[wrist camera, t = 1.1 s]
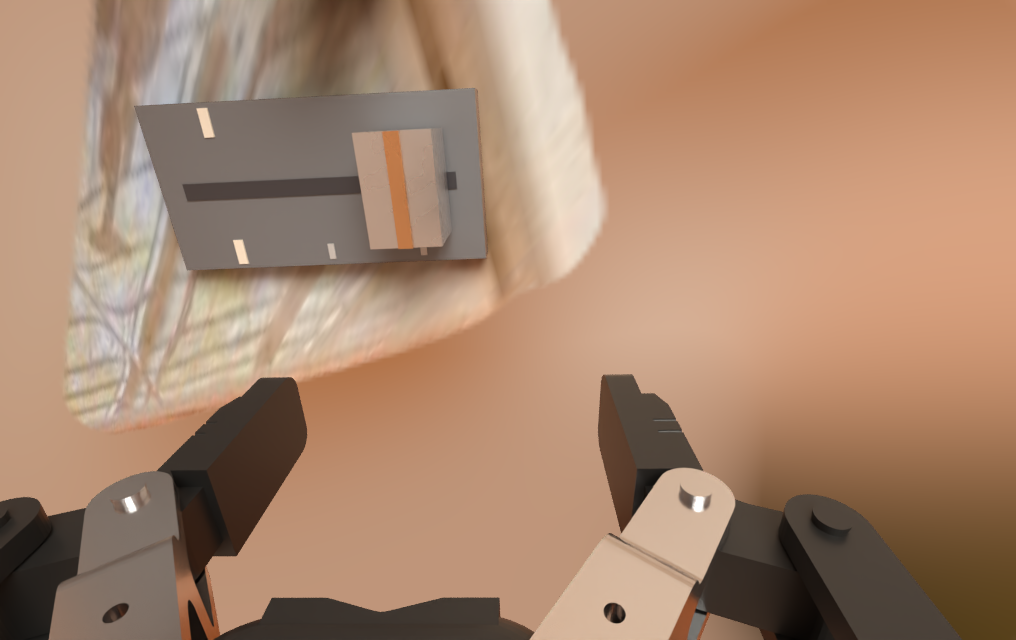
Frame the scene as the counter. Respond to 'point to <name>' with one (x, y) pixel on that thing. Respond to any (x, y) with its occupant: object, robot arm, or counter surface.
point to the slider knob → (403, 187)
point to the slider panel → (303, 176)
